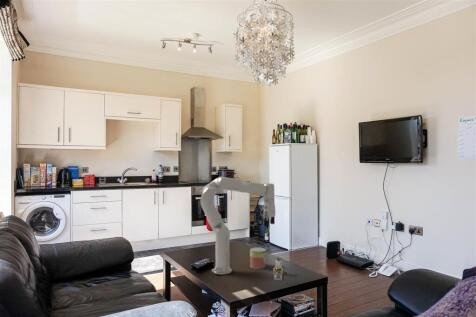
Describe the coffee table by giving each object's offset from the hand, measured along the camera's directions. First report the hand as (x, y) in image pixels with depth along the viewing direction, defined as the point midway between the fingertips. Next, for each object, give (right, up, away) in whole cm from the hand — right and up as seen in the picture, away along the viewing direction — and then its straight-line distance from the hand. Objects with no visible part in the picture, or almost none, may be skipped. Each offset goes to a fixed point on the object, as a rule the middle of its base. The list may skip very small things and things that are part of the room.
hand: (269, 225), depth 229 cm
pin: (+5, -30, -12) cm, 33 cm away
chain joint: (+5, -30, -12) cm, 33 cm away
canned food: (-8, -31, +4) cm, 32 cm away
